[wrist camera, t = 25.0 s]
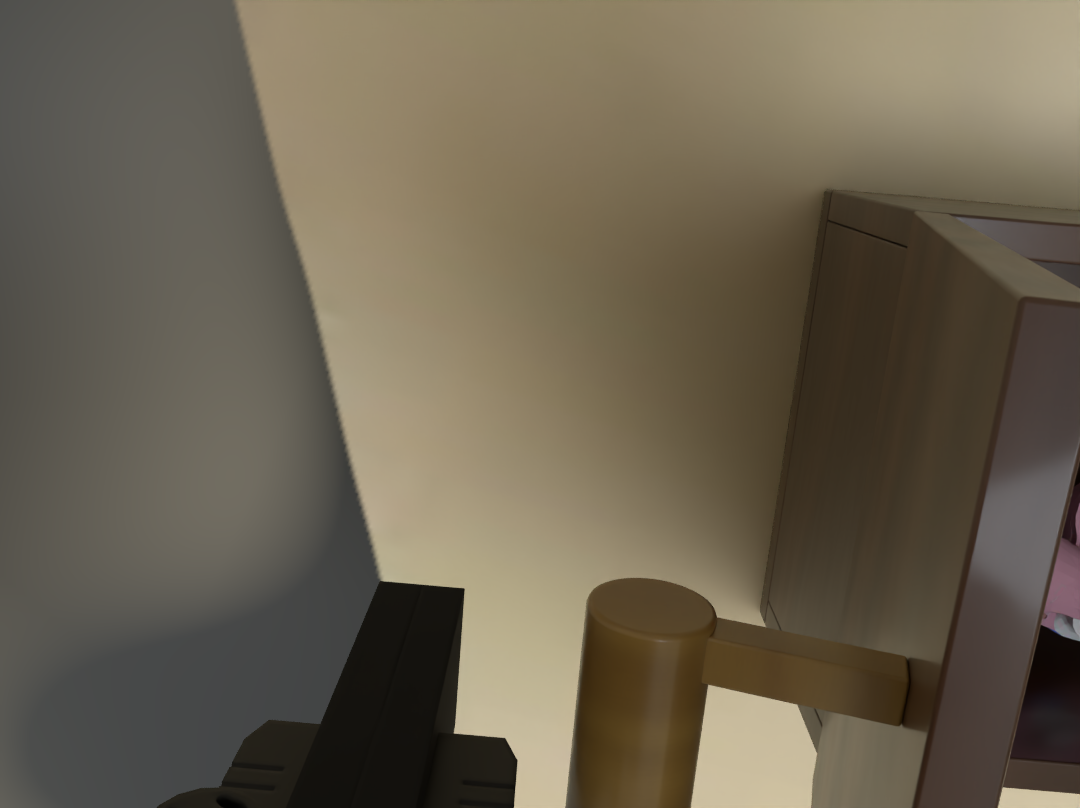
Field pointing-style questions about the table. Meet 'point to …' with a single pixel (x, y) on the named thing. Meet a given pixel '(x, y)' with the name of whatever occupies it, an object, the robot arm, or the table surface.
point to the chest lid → (883, 567)
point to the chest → (848, 430)
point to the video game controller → (1066, 578)
